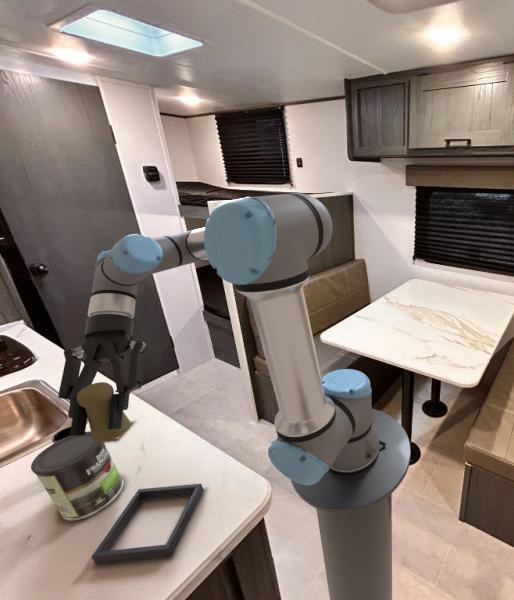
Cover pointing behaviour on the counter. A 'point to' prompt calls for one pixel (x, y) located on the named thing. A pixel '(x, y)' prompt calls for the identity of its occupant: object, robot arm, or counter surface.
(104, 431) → the pepper shaker
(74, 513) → the coffee can
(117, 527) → the open rectangular frame
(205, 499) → the counter surface
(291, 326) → the robot arm
